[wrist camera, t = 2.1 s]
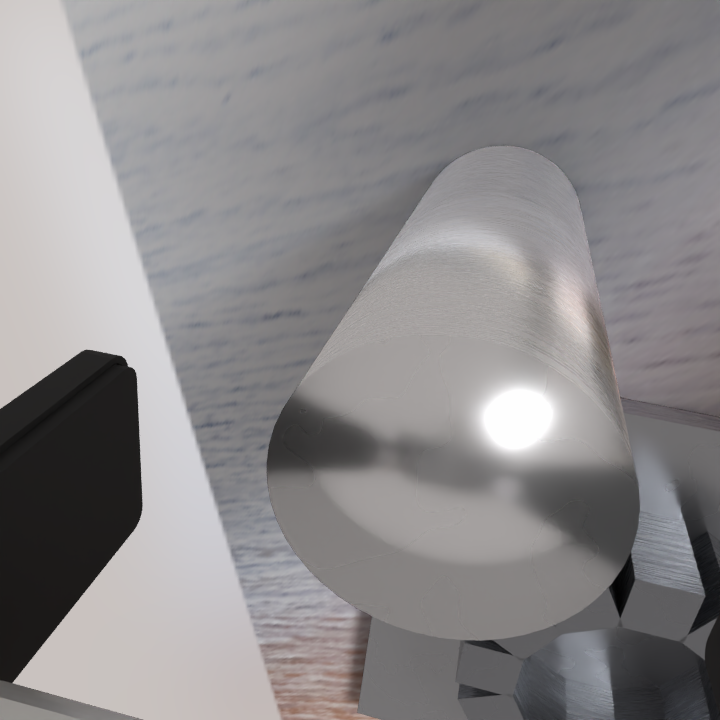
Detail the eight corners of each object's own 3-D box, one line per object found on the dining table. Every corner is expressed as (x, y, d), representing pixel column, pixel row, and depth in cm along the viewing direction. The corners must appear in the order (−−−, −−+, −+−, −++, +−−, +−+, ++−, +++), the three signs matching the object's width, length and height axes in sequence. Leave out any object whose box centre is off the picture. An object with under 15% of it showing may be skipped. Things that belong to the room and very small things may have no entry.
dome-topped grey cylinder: (431, 134, 21) (273, 300, 9) (600, 158, 20) (695, 380, 8) (402, 334, 24) (257, 664, 12) (548, 361, 23) (557, 748, 11)
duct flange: (413, 357, 24) (388, 423, 20) (985, 469, 21) (1085, 571, 17) (362, 694, 32) (337, 786, 29) (767, 806, 30) (802, 927, 26)
